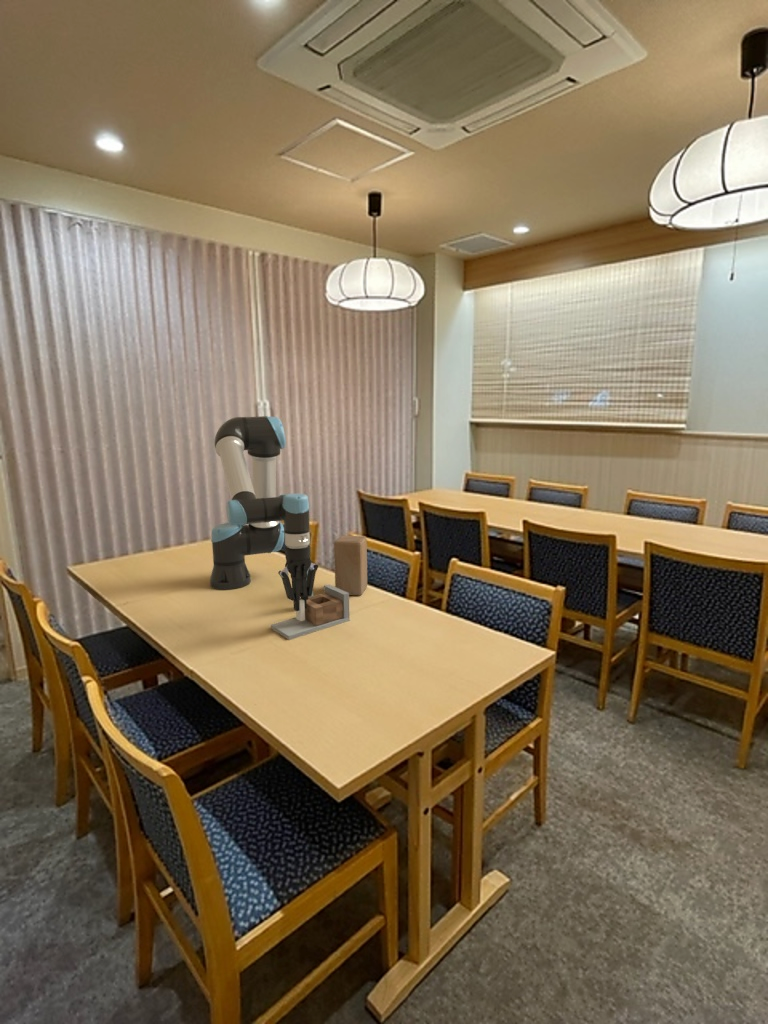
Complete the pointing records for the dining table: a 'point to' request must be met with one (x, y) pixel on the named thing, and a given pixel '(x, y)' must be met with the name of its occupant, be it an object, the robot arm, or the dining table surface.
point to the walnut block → (323, 609)
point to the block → (351, 564)
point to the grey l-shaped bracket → (300, 628)
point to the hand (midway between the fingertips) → (300, 619)
